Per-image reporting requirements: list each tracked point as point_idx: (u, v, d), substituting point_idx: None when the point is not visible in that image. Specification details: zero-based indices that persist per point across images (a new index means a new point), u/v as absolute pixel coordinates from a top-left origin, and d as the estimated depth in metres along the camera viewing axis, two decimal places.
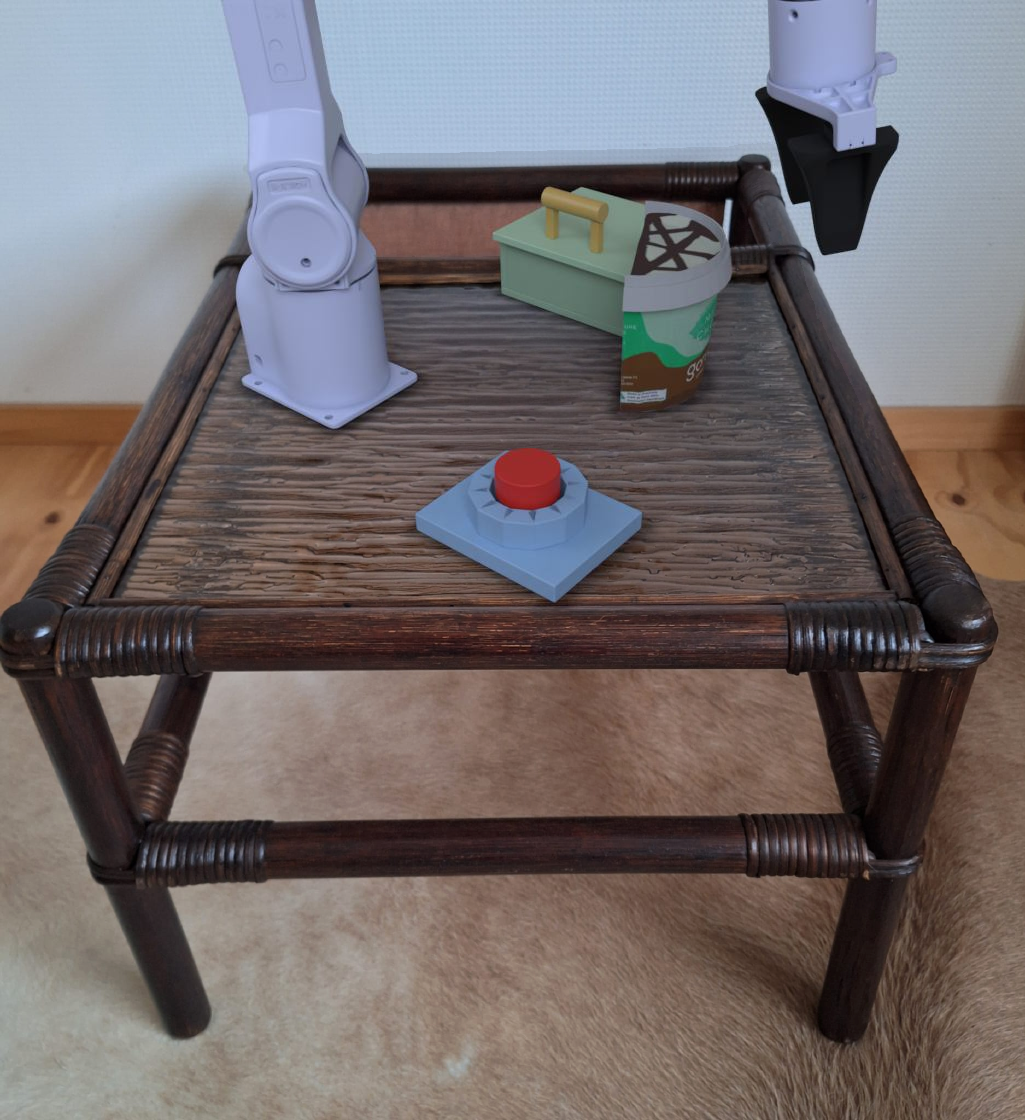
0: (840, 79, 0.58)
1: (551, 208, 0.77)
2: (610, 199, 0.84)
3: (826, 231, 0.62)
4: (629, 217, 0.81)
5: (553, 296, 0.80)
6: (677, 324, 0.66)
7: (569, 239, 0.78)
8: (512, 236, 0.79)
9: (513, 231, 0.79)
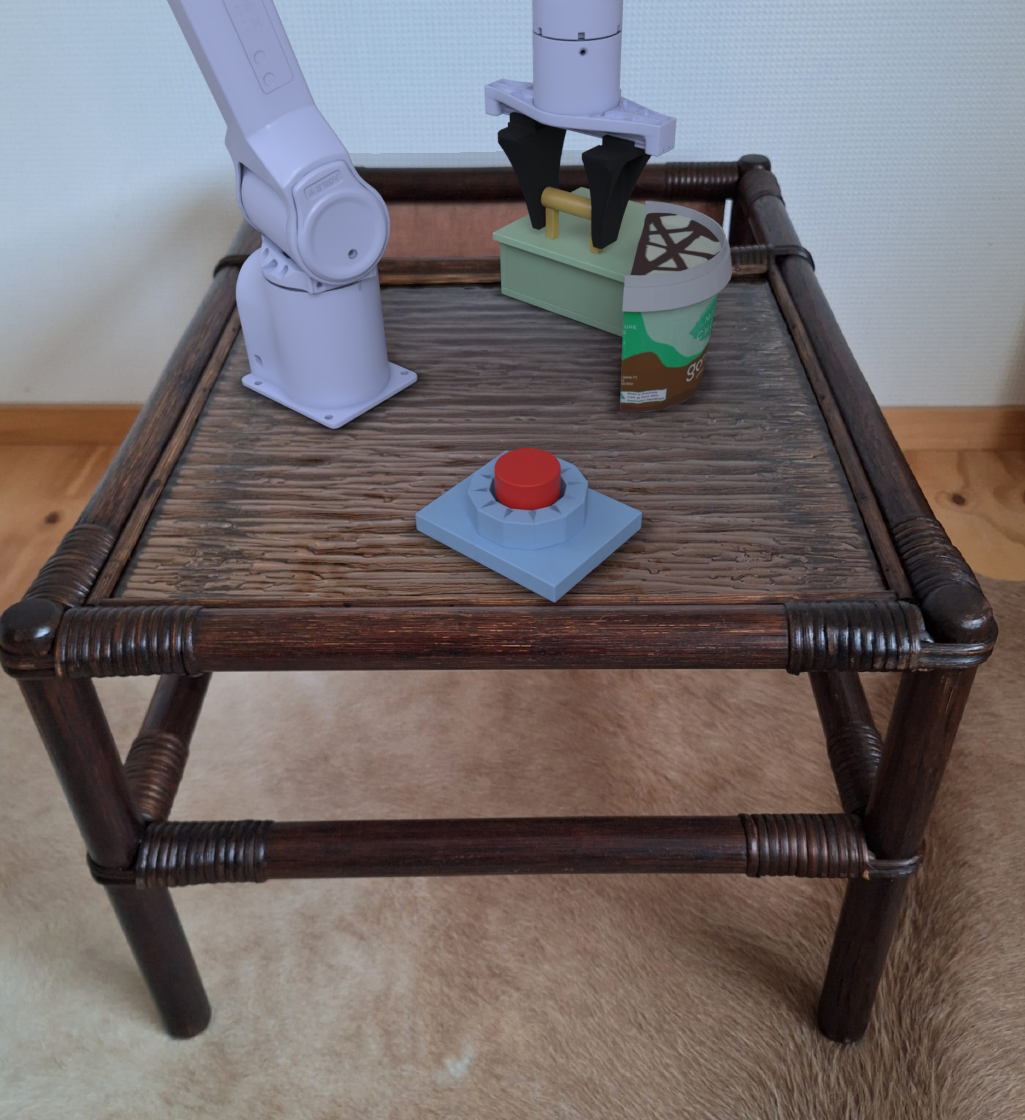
0: (613, 104, 0.70)
1: (551, 208, 0.77)
2: None
3: (605, 227, 0.74)
4: (629, 217, 0.81)
5: (553, 296, 0.80)
6: (677, 324, 0.66)
7: (569, 239, 0.78)
8: (512, 236, 0.79)
9: (513, 231, 0.79)
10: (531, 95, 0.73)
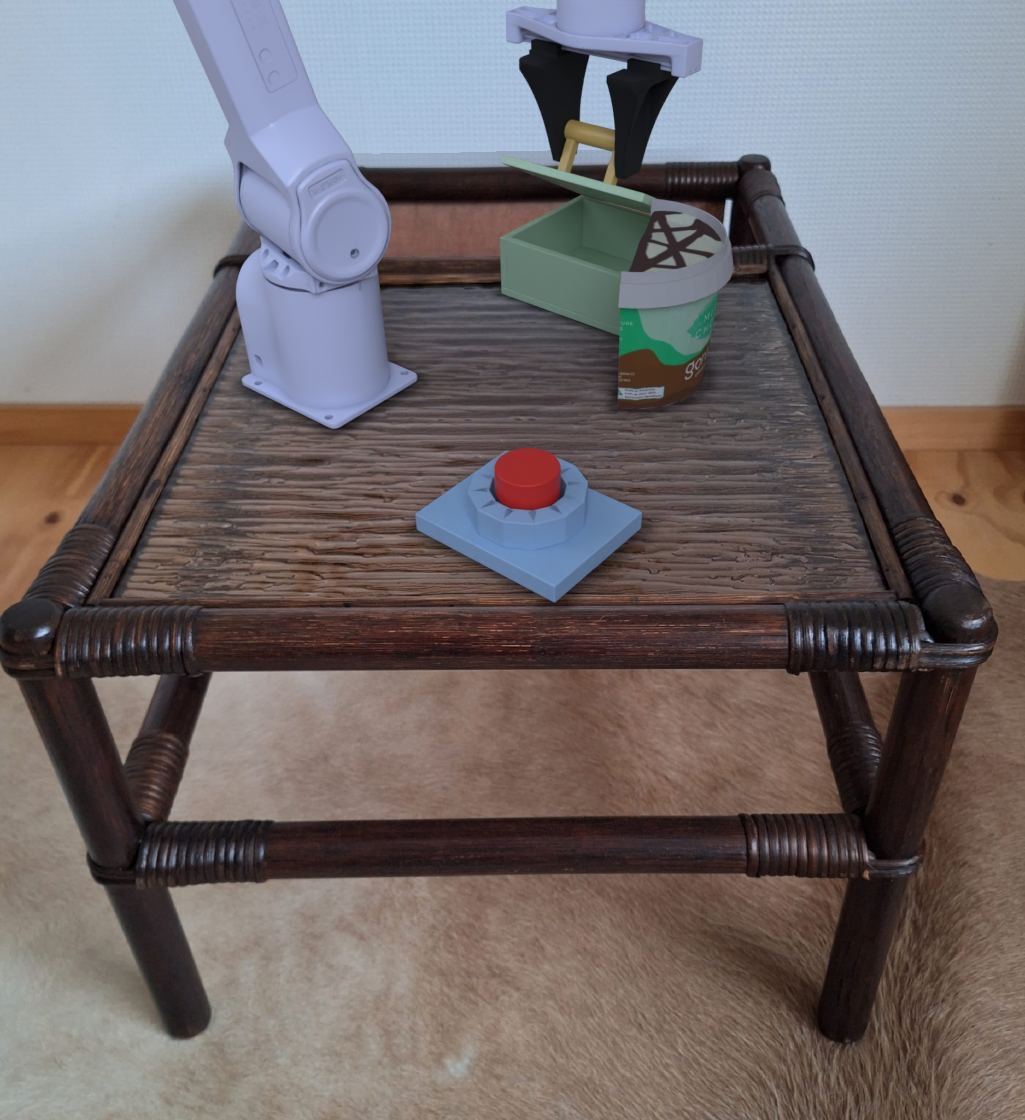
0: (638, 25, 0.68)
1: (573, 138, 0.75)
2: None
3: (628, 156, 0.73)
4: None
5: (553, 296, 0.80)
6: (674, 322, 0.66)
7: None
8: (523, 160, 0.76)
9: None
10: (554, 20, 0.72)
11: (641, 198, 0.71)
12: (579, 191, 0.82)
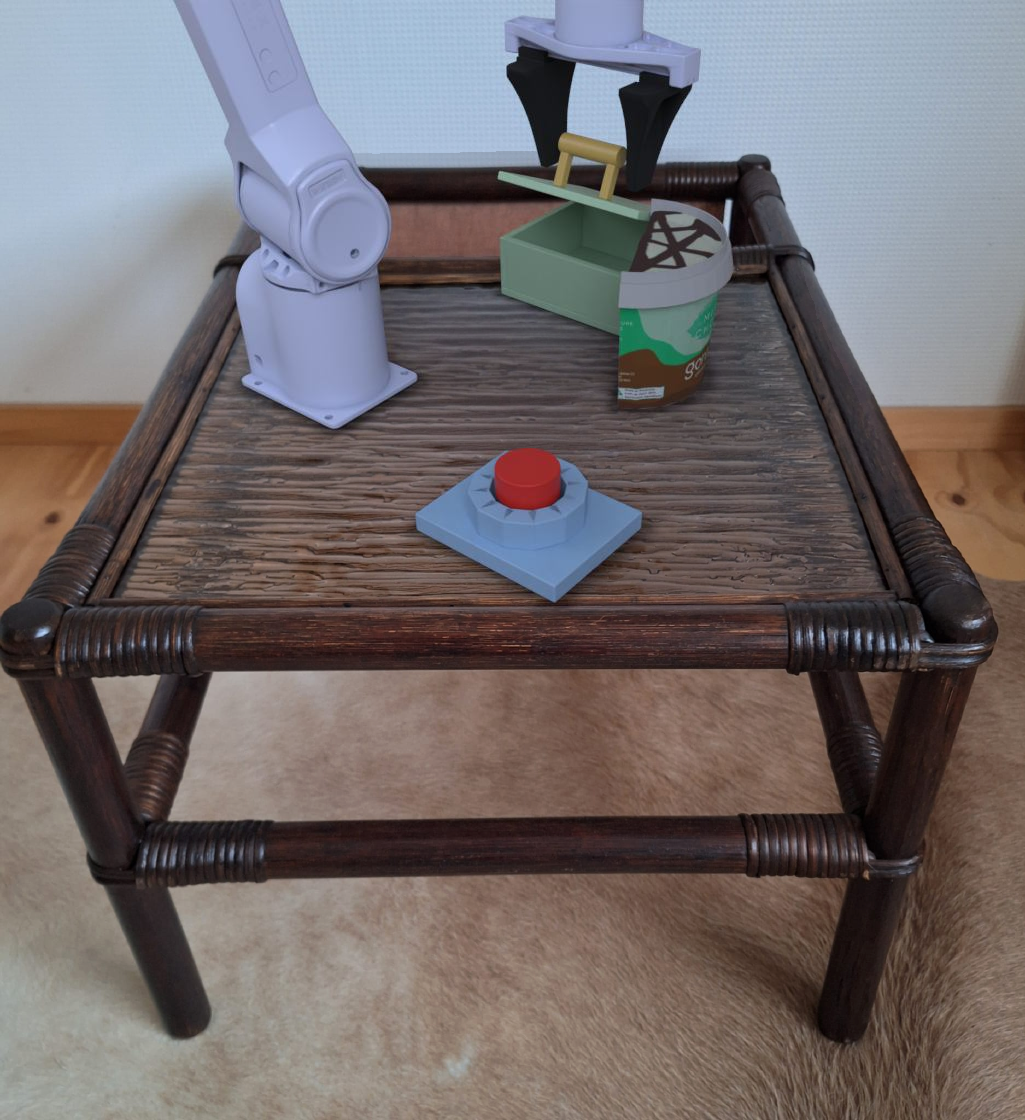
0: (637, 36, 0.69)
1: (567, 151, 0.75)
2: None
3: (640, 169, 0.72)
4: (632, 202, 0.80)
5: (553, 296, 0.80)
6: (674, 322, 0.66)
7: (576, 190, 0.76)
8: (519, 176, 0.77)
9: (520, 175, 0.77)
10: (552, 30, 0.72)
11: (636, 216, 0.71)
12: None
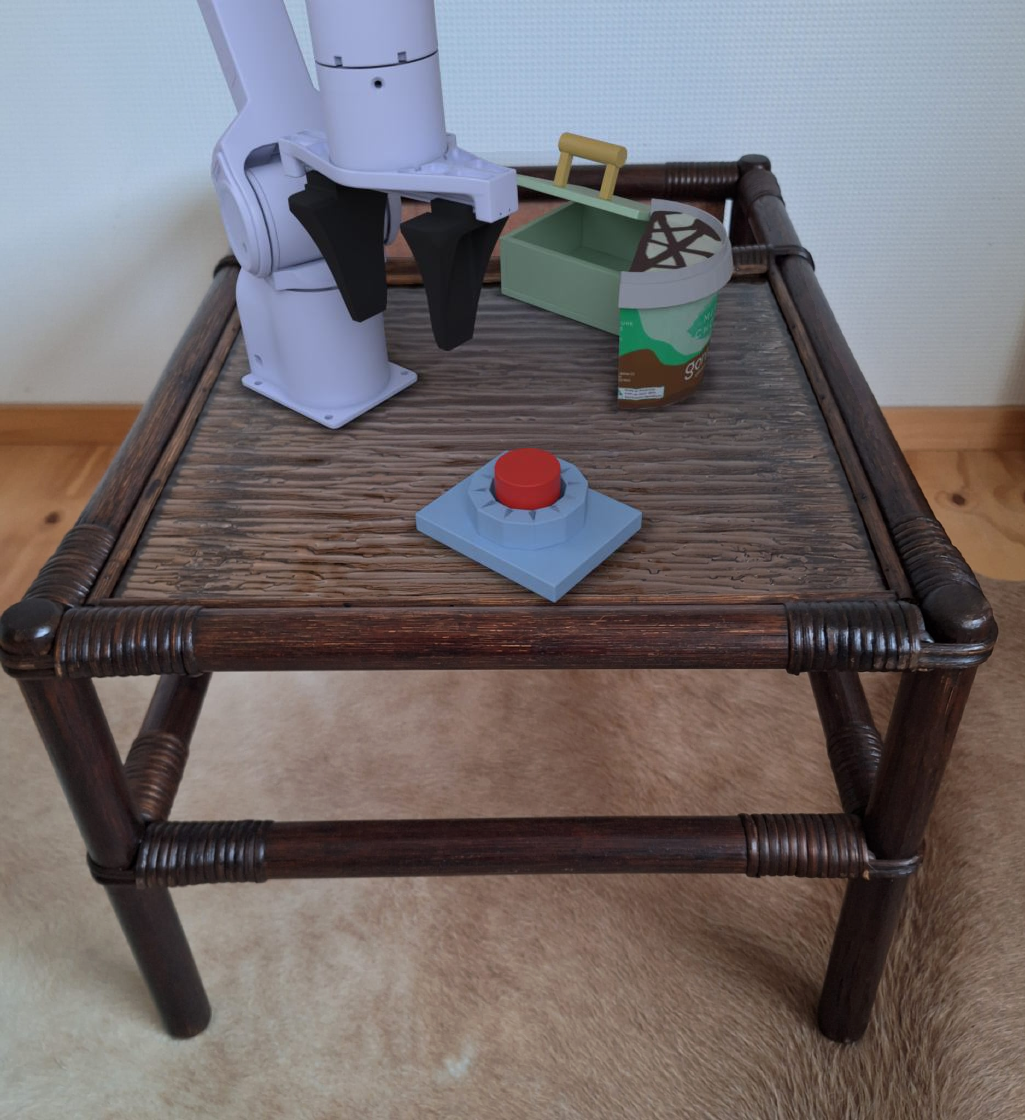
0: (435, 154, 0.51)
1: (567, 151, 0.75)
2: None
3: (449, 322, 0.54)
4: (632, 202, 0.80)
5: (553, 296, 0.80)
6: (674, 322, 0.66)
7: (576, 190, 0.76)
8: (519, 176, 0.77)
9: (520, 175, 0.77)
10: None
11: (636, 216, 0.71)
12: None
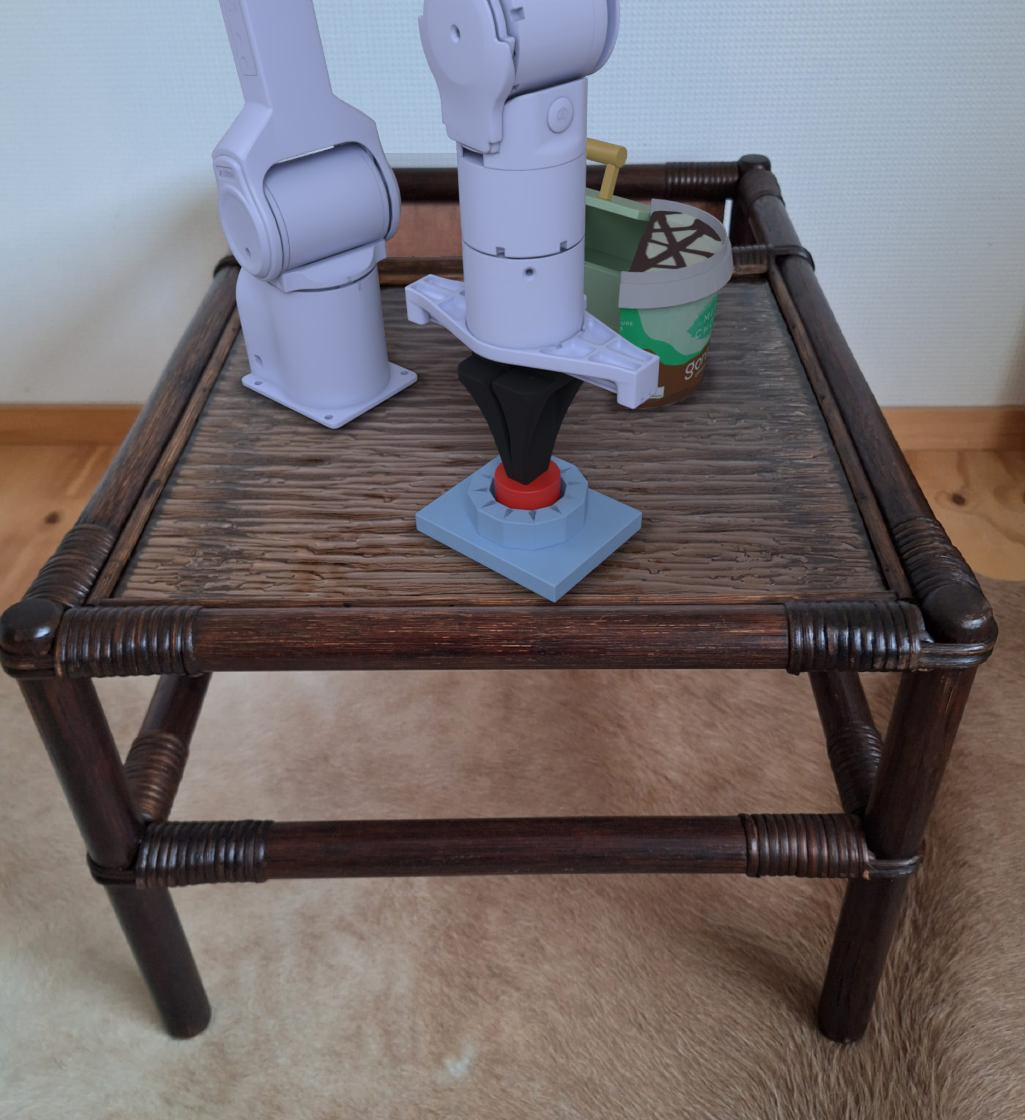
0: (574, 329, 0.51)
1: None
2: None
3: (529, 461, 0.56)
4: (632, 202, 0.80)
5: None
6: (674, 322, 0.66)
7: None
8: None
9: None
10: (466, 304, 0.54)
11: (636, 216, 0.71)
12: None
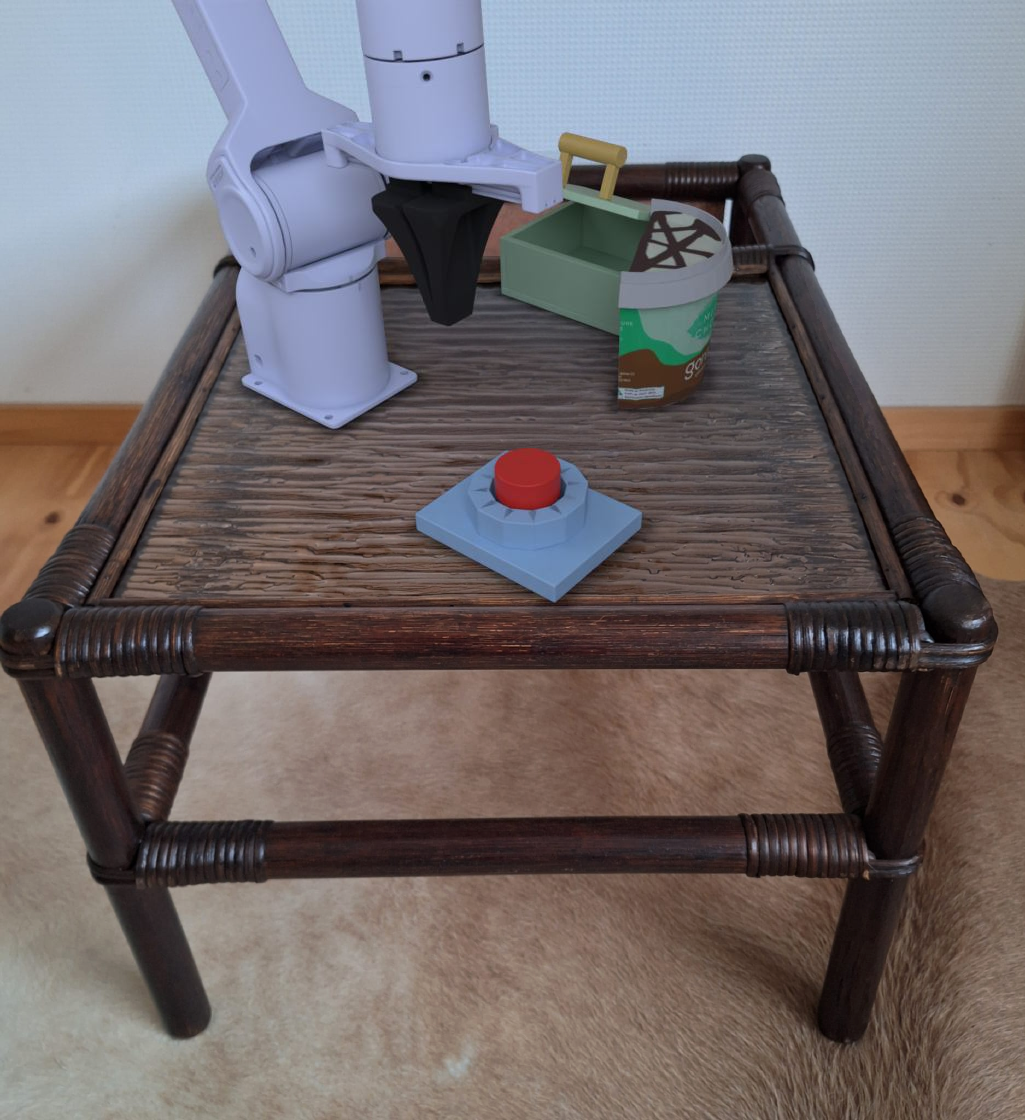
0: (480, 145, 0.51)
1: (567, 151, 0.75)
2: None
3: (450, 299, 0.57)
4: (632, 202, 0.80)
5: (553, 296, 0.80)
6: (674, 322, 0.66)
7: (576, 190, 0.76)
8: None
9: None
10: None
11: (636, 216, 0.71)
12: None
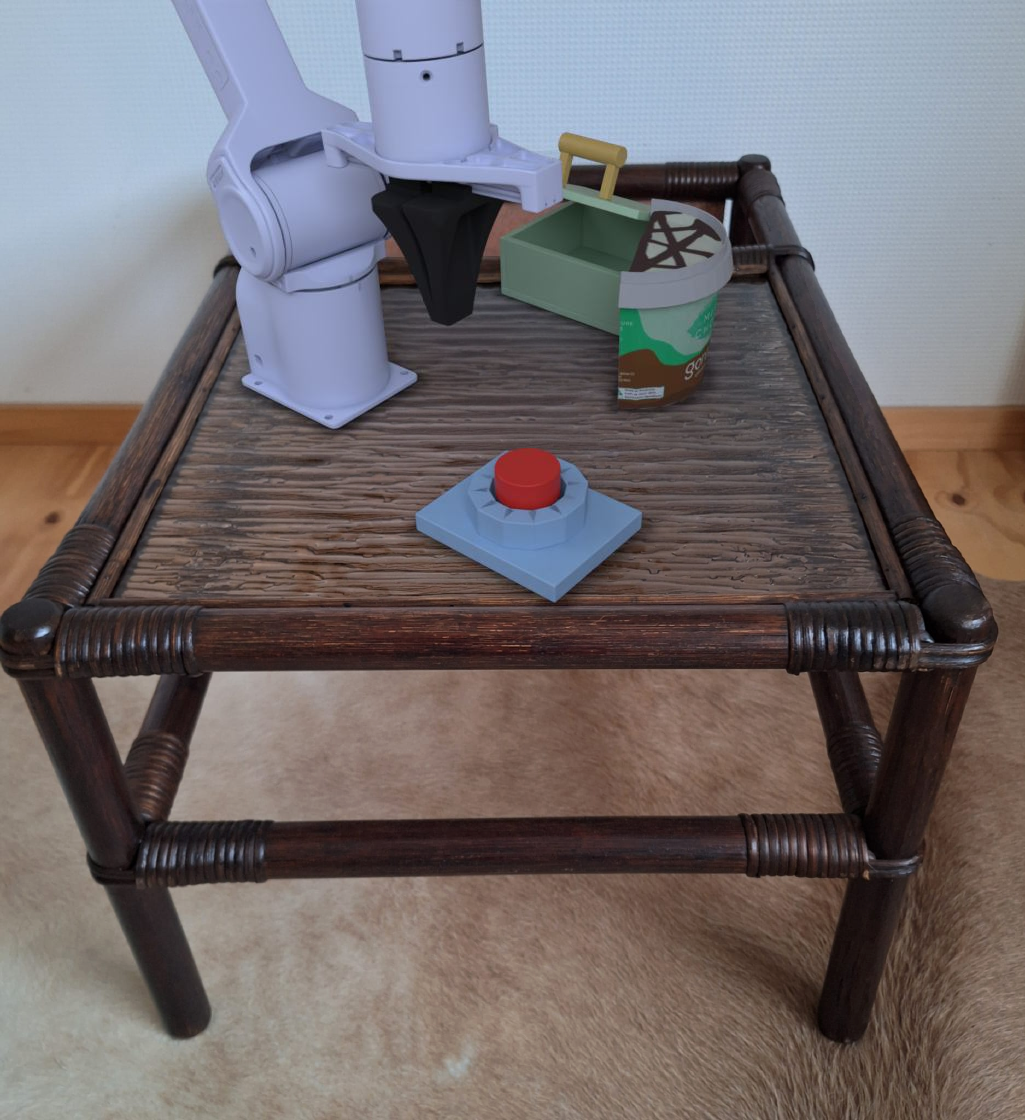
0: (480, 145, 0.51)
1: (567, 151, 0.75)
2: None
3: (450, 298, 0.57)
4: (632, 202, 0.80)
5: (553, 296, 0.80)
6: (674, 322, 0.66)
7: (576, 190, 0.76)
8: None
9: None
10: None
11: (636, 216, 0.71)
12: None
